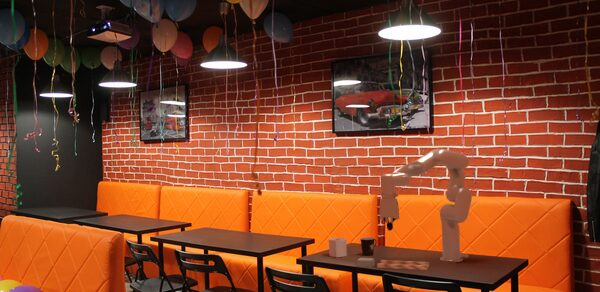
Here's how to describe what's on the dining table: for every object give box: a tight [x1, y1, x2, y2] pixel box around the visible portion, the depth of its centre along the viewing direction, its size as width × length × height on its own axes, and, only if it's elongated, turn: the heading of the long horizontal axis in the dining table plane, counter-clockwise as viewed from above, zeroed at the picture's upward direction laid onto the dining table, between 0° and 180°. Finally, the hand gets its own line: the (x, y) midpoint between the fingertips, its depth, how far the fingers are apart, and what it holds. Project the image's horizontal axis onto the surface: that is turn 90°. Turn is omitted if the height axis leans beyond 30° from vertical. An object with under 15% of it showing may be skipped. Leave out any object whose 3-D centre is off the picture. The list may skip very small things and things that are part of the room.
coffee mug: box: [359, 236, 378, 257], centre depth 322 cm, size 12×9×10 cm
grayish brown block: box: [356, 257, 375, 269], centre depth 291 cm, size 8×6×4 cm
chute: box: [376, 259, 430, 271], centre depth 283 cm, size 26×10×3 cm, turn 70°
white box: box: [328, 237, 348, 258], centre depth 321 cm, size 11×12×10 cm
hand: (390, 230), depth 288 cm, fingers closed
